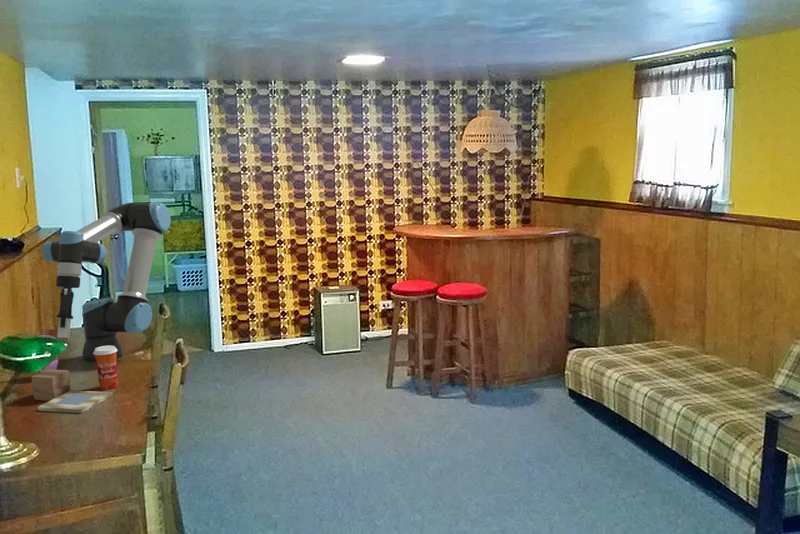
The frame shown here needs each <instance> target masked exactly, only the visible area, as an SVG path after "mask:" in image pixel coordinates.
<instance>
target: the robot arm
mask: <svg viewBox="0 0 800 534" xmlns="http://www.w3.org/2000/svg"><path fill="white" fill-rule="evenodd" d="M171 220H172V219H171V214H170V211H169V209H168V207H167V206H166V205H165V204H164V203H162V202H155V201H151V202H126V203H123V204H120V205H118V206H116V207H113V208H112V209H109V210H107V211H105V212H104V213H102V214H101V216H100V217H99V218H98V219H96V220H94V221H92V222H91V223H89V224H87V225H85V226H84V227H82V228H80V229H78V230H74V231H73V230H64V231H62V232H60V238H59V240H56V241H54V240H52V241H47V242H45V243H44V244H43V245H42V249H41V254H42V258H43V260H44V261H46V262H49V263H50V262H51V263H57V265H55V268H56V269H57V271H56V274H57V276H56V280H55V286H56V287H58V288H61V291H60V293H59V294H60V295H59V296H60V300H59V301H60V304H59V311H58V314H57V315H56V318H57V319H58V324H57V326H58V328H57V338H60V339H65V338H69V339H70V334H71V325H72V324H71V323H72V320H74V315H73V314H72V312H73V310H72V308H73V304H74V303H73V302H74V297H75V293H74V291H73V290H72V289H78V288H81V287H80V286H81V277H80V276H82V275H81V274H82V269H83V268H82V267H83V266H82V264H83V263H90V264H102V263H103V262H104V261H105V260H106V259H107V255H108V251H107V248H106V246H105V245H103V244H102V243H99V242H100V241H103V240H104V239H106V238H107V237H109V236H111V235H117V234H120V233H121V232H131V233H132V235H133V236H134V237H133V241H132V242H133V243H132V248H131V253H130V256H129V257H130V258H129V261H128V267H127V270H126V276H125V280H124V285H123V289H122V293H120V294H118V295H117V299H116V302H114V299H113V298H112V297H104V298H99V299H94V300H90V301H86V302H84V304H82V306H81V307H82V309H81V312H82V314H81V317H82V323H83V330H84V340H85V342H84V346H83V349H82V353H81V356H82V360H83V361H84V362H90V363H96V361H95V355H94V354H93V353H94V351H95V348H98V347H101V346H115V347H116V349H117V350H118V351H116V356H117V359H118V358H121V357H122V356H123V355H124V348H123V346H122V345H121V342H120V340H119V338H118V335H117V333H126V334H127V333H128V334H134V333H136V334H137V333H142V332H144V331H146V330H147V329H148V328H149V326H150V324H151V322H152V319H153V312H152V306H151V305H150V304H149V299H148V297H146V295H147V290H148V286H149V281H150V280H149V279H150V277H151V276H150V275H151V271H152V266H153V260H154V256H155V253H156V252H155V251H156V246H157V241H159V240H160V239H161V238H163V237H162V236H163V232H166V231H168V230H169V229H170V227H171V223H172V221H171ZM57 338H56V339H57Z"/></svg>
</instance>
